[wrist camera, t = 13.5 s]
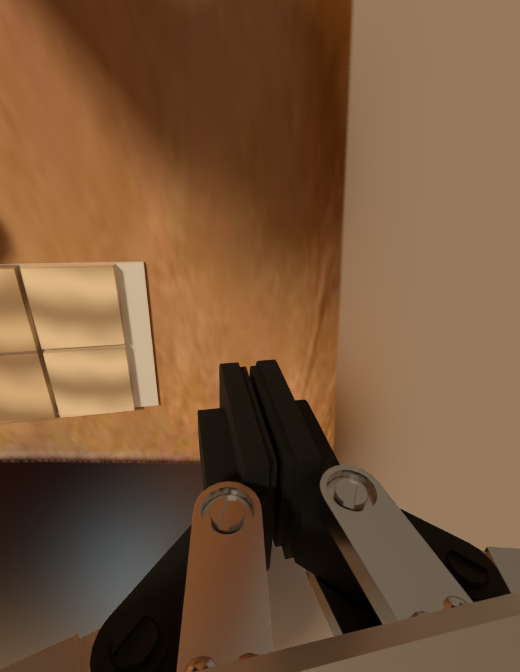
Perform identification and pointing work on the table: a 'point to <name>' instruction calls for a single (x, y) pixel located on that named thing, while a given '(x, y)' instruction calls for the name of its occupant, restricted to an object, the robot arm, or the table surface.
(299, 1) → the table surface
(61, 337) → the plank near
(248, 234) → the table surface
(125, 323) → the underlay mat
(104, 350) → the plank far
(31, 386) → the row
